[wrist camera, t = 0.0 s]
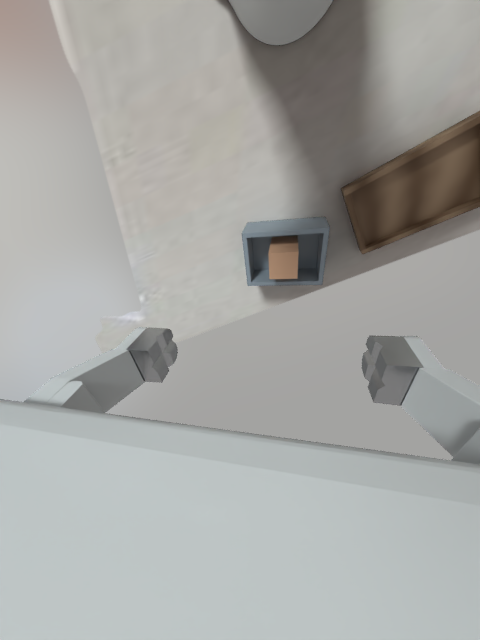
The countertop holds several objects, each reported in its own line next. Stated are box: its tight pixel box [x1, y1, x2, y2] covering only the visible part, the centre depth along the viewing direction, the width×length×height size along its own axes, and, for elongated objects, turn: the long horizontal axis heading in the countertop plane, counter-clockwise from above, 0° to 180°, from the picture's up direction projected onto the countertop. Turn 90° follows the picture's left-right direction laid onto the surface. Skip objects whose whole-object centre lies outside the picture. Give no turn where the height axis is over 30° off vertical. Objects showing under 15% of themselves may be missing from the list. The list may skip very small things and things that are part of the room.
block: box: [268, 235, 299, 279], centre depth 41 cm, size 5×5×8 cm
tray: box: [341, 111, 480, 254], centre depth 35 cm, size 18×12×2 cm, turn 122°
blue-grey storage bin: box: [242, 217, 330, 286], centre depth 43 cm, size 11×15×6 cm
